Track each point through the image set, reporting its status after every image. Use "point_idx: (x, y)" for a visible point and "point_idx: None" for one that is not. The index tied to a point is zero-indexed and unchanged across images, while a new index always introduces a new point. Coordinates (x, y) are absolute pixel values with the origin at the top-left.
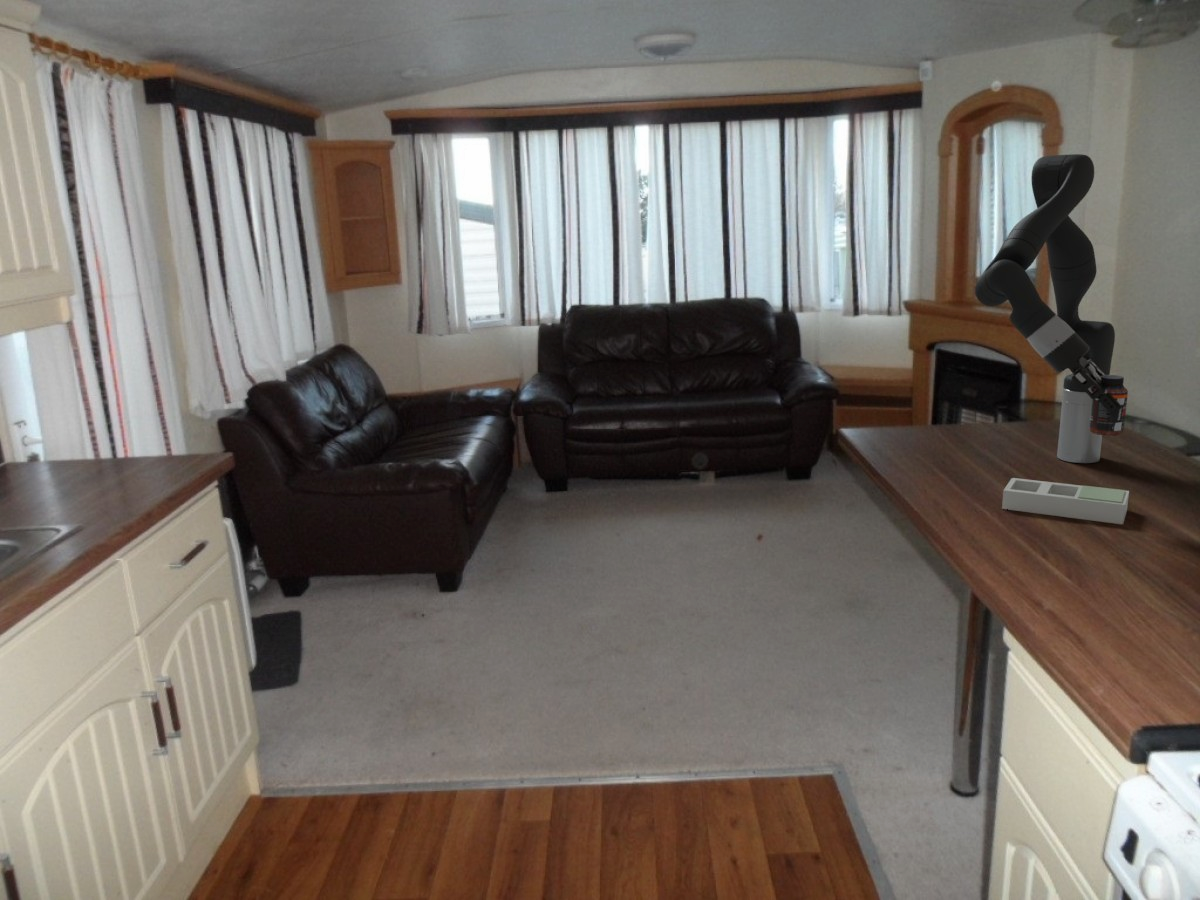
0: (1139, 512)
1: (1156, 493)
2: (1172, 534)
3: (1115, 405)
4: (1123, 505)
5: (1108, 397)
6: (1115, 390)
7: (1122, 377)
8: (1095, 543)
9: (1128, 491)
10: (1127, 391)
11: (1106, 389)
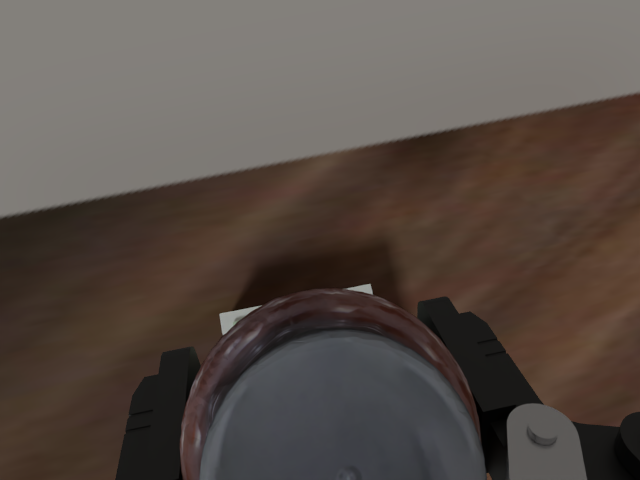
0: (232, 285)
1: (17, 295)
2: (364, 181)
3: (488, 327)
4: (370, 288)
5: (527, 388)
6: (444, 364)
7: (343, 340)
8: (545, 301)
9: (225, 314)
10: (304, 291)
11: (547, 430)
